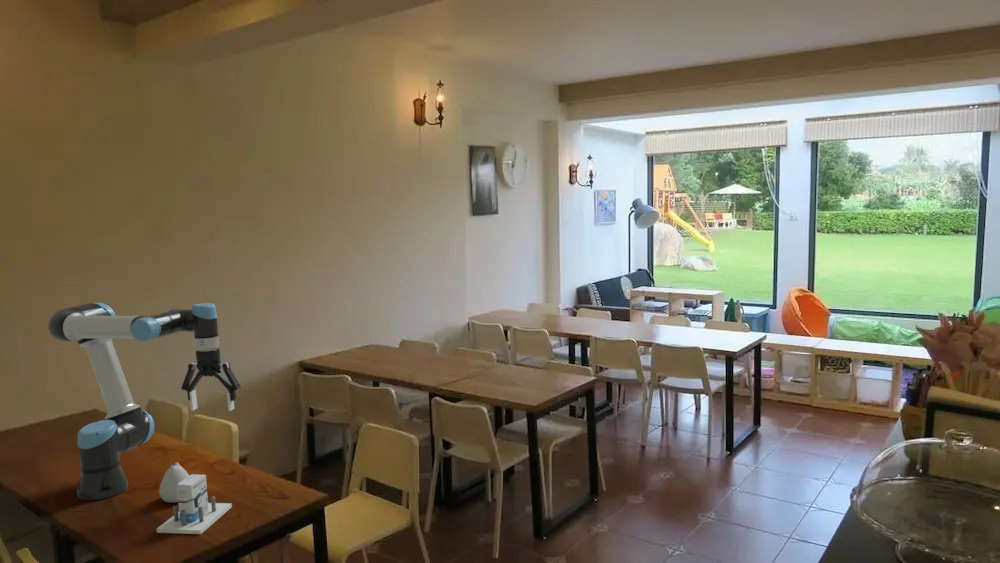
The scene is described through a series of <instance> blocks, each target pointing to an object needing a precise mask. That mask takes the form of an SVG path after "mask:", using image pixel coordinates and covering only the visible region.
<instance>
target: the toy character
mask: <svg viewBox="0 0 1000 563" xmlns="http://www.w3.org/2000/svg"><path fill="white" fill-rule="evenodd" d="M188 476H190V474H189V473H188V472H187V470H186V469H185V468H184V467H183V466H181V464H180V463H179V462H178V461H177V462H175V463H174V464H173V465H170V467H169V468H168V469H167V470H166V471H165V473H164V475H163V477H162V480H161V482H160V484H159V490H158V492H159V496H160V498H161V499H162V500H163V502H166V503H172V504H173V503H175V504H176V503H178V492H177V485H178V483H180V482H181V481H183V480H184V479H185V478H187V477H188Z"/></svg>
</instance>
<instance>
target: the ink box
mask: <svg viewBox="0 0 1000 563" xmlns="http://www.w3.org/2000/svg"><path fill="white" fill-rule="evenodd" d="M207 486H208V484H207V474H196V473H195V474H194V473H193V474H189V476H188V477H187V478H185V479H184V480H183V481H181V482H180V483H178V485H177V492H178V502H177V503H178V512H179V515H180V521H181V510H185V516H186V522H195V521H196V520H197V519H198V518H199V511H198V507H200V506H202V507H203V514H204V513H205V512H207V511H208V510H209V508H208V503H209V499H208V498H209V497H208V488H207ZM181 522H182V521H181Z"/></svg>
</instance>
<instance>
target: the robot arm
mask: <svg viewBox="0 0 1000 563" xmlns="http://www.w3.org/2000/svg"><path fill="white" fill-rule="evenodd" d="M218 327H219V326H218V314H217V308H216V304H214V303H212V302H201V303H196V304H193V305H192V306H191V309H184V308H183V309H179V308H173V309H166V310H164V311H163V312H162V313H158V314H153V315H116V312H115V311H114V309H113V308H112V307H111V306H109V305H107V304H105V303H103V302H90V303H89V302H88V303H85V304H82V305H80V304H79V305H75V306H70V307H64V308H61V309H59V310H57V311H55V312H53V313H52V315H51V316H50V317H49V320H48V323H47V330H48V332H49V334H50V336H51V337H52V338H53V339H54V340H57V341H59V342H62V343H63V342H77V343H78V344H77V345H78V347H82V348H83V349H84V350H85V352H86V355H87V358H88V359H89V362H90V365H91V368H92V370H93V374H94V376H95V379H96V382H97V384H98V387H99V389H100V393H101V395H102V399H103V401H104V404H105V407H106V409H107V413H106V416H105V419H101V420H98V421H93V422H91V423H89V424H87V425H85V426H83V427H81V428H80V429H79V431H78V432H77V441H76V442H77V443H76V444H77V448H78V455H79V464H80V477H79V481H78V485H77V489H76V495H77V498H78V499H79V500H82V501H98V500H104V499H108V498H111V497H114V496H117V495H118V494H121V493H123V492H124V491H126V490H127V489H128V488H129V482H128V478H127V477H126V475H125V473H124V471H123V468H122V466H121V462H120V461H121V460H120V455H121V454H124V453H126V452H127V451H130V450H132V449H135V448H137V447H139V446H142V445H143V444H144V443H147V442H148V441H149V440H150V439H151V438H152V437H153V434H154V432H155V421H154V418H153V416H152V415H151V413H149V412H148V411H146V410H142V407H141V405H139V404H137V403H135V401H134V399H133V396H132V393H131V390H130V388H129V385H128V382H127V380H126V377H125V374H124V371H123V368H122V366H121V362H120V360H119V357H118V354H117V351H116V348H115V346H114V343H113V339H116V340H117V339H122V340H123V339H125V340H126V339H129V340H130V339H133V340H134V339H135V340H137V341H139V342H148V341H149V342H150V341H153V340H155V339H159V338H163V337H167V336H170V335H173V334H177V333H182V332H184V333H185V332H187V333H188V332H189V333H190V332H192V333H193V334H194V346H195V359H196V362H197V363H196V362H195V361H193V362H190V363H189V364H188V365H187V372H186V374H185V378H184V380H183V383H182V385H181V388H180V389H181V390H182V391H186V393H187V401H189V404H190V411H195V410H197V409H198V399H197V389H195V388H196V387H197V385H198V383H199V382H200V381H201V379H202V378H203V377H215V378H216V379H218V382H220V383H221V385H223V386H224V387H225V388H226V390H228V391H227V392H226V400H227V411H228V412H232V411H233V410H235V400H236V398H237V395H236V391H237V390H239V389H241V387H242V386H241V385H240V383H239V381H238V379H237V378H236V376H235V374H234V372H233V371H232V368H231V365H230V362H229V361H227V362H224V363H222V362H221V350H220V348H219V347H220V338H219V332H218ZM196 369H197V370H198V371H197V373H196V375H195V377H194V378H193V376H194V374H195V372H196ZM222 370H223V371H222Z"/></svg>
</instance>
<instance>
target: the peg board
mask: <svg viewBox="0 0 1000 563" xmlns="http://www.w3.org/2000/svg"><path fill="white" fill-rule="evenodd" d="M208 508H209V510H208V511H207V512H205V513H204V514H203V507H202V506H200V507H198V511H199V518H198V519H197V520H196V521H195V522H186V516H185V510H181V521H182V522H181V521H180V515H179V507H178V505H174V506H172V509H173V510H172V512H173V516H171V517H170V518H169V519H167V520H166V521H165V522H163V523H162V524H161V525H160V526H158V527H157V528H156V534H157V533H159V534H183V535H184V534H186V535H187V534H188V535H189V534H190V535H201V534H203V533H204V532H205V531H206V530H208V529H209V528H210V527H211V526H212V525H213V524H215V522H216V521H218V520H219V519H220V518H221V517H223V516H224V515H225V513H227V512H228V511H229V510H230V509H232V508H233V503H231V502H230V503H229V502H228V503H226V502H222V503H221V502H216V496H214V495H213V496H211V497H210V502H208Z"/></svg>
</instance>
